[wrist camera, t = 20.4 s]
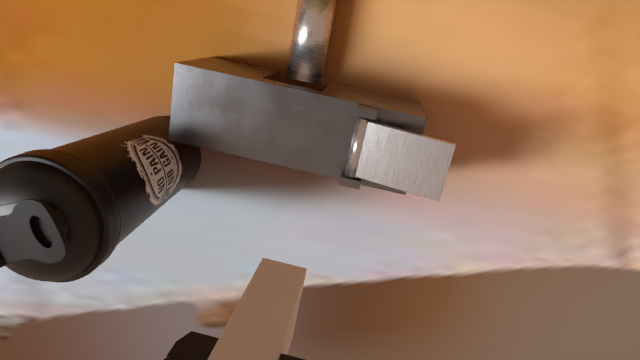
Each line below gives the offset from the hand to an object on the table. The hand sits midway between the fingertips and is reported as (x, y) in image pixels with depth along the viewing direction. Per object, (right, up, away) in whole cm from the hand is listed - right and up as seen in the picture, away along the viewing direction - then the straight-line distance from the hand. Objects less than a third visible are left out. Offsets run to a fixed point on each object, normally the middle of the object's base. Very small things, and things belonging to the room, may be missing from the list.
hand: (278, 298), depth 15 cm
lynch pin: (+1, +19, +30) cm, 36 cm away
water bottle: (-16, +7, +37) cm, 41 cm away
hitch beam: (0, +11, +33) cm, 35 cm away
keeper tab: (+5, +7, +23) cm, 24 cm away
